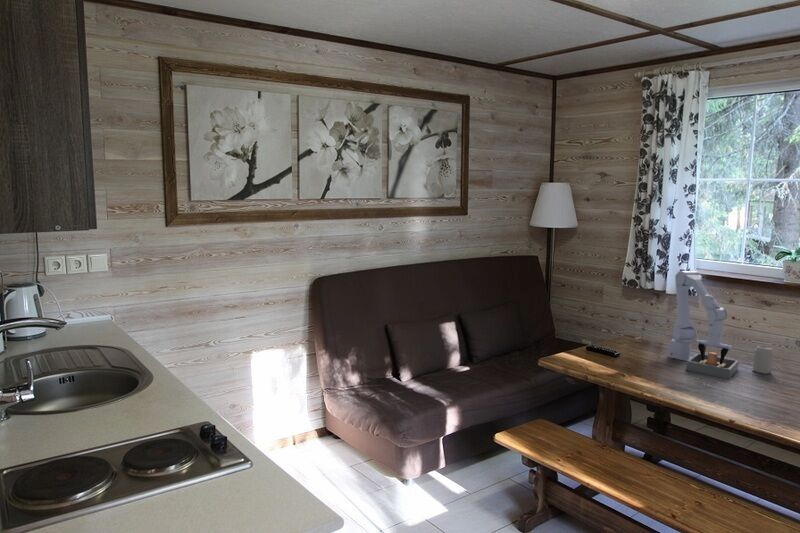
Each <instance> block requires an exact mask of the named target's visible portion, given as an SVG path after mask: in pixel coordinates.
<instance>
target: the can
mask: <svg viewBox="0 0 800 533" xmlns="http://www.w3.org/2000/svg"><path fill="white" fill-rule="evenodd" d="M774 352H775V351H773V348H772V347H770V346H766V345H757V346H756V348H754V355H753V363H752V364H753V365H752V370H753V371H754V372H756V373H758V374H762V375H768V374H770V373H772V368H773V360H774Z"/></svg>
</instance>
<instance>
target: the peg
mask: <svg viewBox="0 0 800 533" xmlns="http://www.w3.org/2000/svg"><path fill="white" fill-rule="evenodd" d="M707 355H708V359H707V364H708V365H713V366H717V357H719V355H718V353H716V352H712V351H710V352H707Z"/></svg>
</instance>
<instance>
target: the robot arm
mask: <svg viewBox="0 0 800 533" xmlns="http://www.w3.org/2000/svg"><path fill="white" fill-rule="evenodd" d="M674 278H675V290H676V308H677V322H676V323H675V324H673V326H672V328H673V330H672V339H671V340H670V342H669V350H668V357H667V358H669V359H674V358H675V360H679V361H680V360H681V361H685V362H687V361H688V360H689V359H690V358H692V357H693V356H691V353H692V343H693V342H694V340H695V339H696V338H697V330H696V328H695V327H696V326H695V324H694V323H692V322H691V317H690V316H691V312H690V296H689V290H690V289H691V288H692V287H693V289H694V290H695V292H696V293H697V294H698V296H699V297H700V303H701V304H702V306H703V307H704V309H705V310H706V317H707V323H708V328H707V330H708V331H707V340H704V339H696V345H697V348H698V350H699V353H701V358H702V361H704V359H705V354H706V349H707V347H711V348H717V349H721V350H720V357H721V358H720V364H722V363H723V360H724V358H726V356H727V354H728V352H729V351H732V347H733V346H732V345H730V344H726V343H722V337H723V328H724V321H725V320H726V319H727V317H728V312H727V310H726V308H724V307H722V306H721V305H719V303H718V302H717V300H716V299H715V297H714V295H712V294H709V293H708V291H707V289H706V287H705V285H704V283H703V281H702V278H703V276H702V275H701V273H700V272H699V271H698V270H679V271H677V273H676V274H675V276H674Z"/></svg>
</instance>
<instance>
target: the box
mask: <svg viewBox="0 0 800 533" xmlns="http://www.w3.org/2000/svg"><path fill="white" fill-rule="evenodd" d="M691 357H692V358H690V359H689V360H688V361H686V371H687V370H688V371H687V372H693V373H696V374H697V373H698V374H703V375H708V376H713V377H717V378H721V379H725V380H730V379H731V378H732V377H733V376H734V375H735V374H736V373H737V371H738V370H739V363H740V362H739V360H738V359H732V358H728V357H727V358H726V357H724V360H723V363H722V364H720V358H721V356H718V357H717V366H713V365H708V364H707V359H708V354H707V353H705V359H704V361H702V358H701V353H700V352H696V354H694V355H693V356H691Z"/></svg>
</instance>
